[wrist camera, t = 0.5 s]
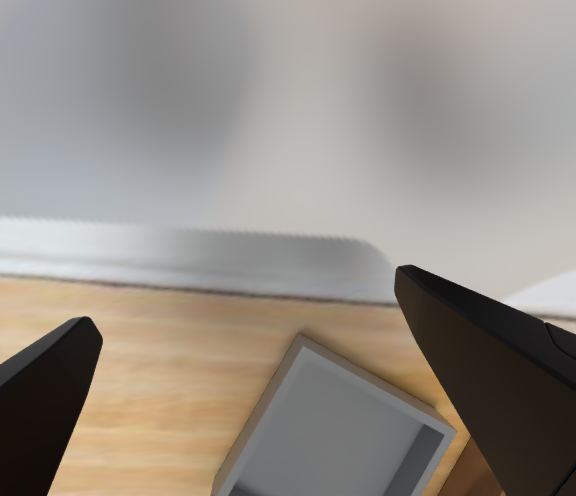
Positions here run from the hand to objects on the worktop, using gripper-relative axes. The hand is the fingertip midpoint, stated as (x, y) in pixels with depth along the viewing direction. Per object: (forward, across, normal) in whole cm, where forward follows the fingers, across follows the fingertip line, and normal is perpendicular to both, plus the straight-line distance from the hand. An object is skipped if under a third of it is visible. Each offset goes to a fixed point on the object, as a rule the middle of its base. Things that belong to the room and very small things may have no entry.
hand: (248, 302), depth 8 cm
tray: (+6, -3, +20) cm, 21 cm away
